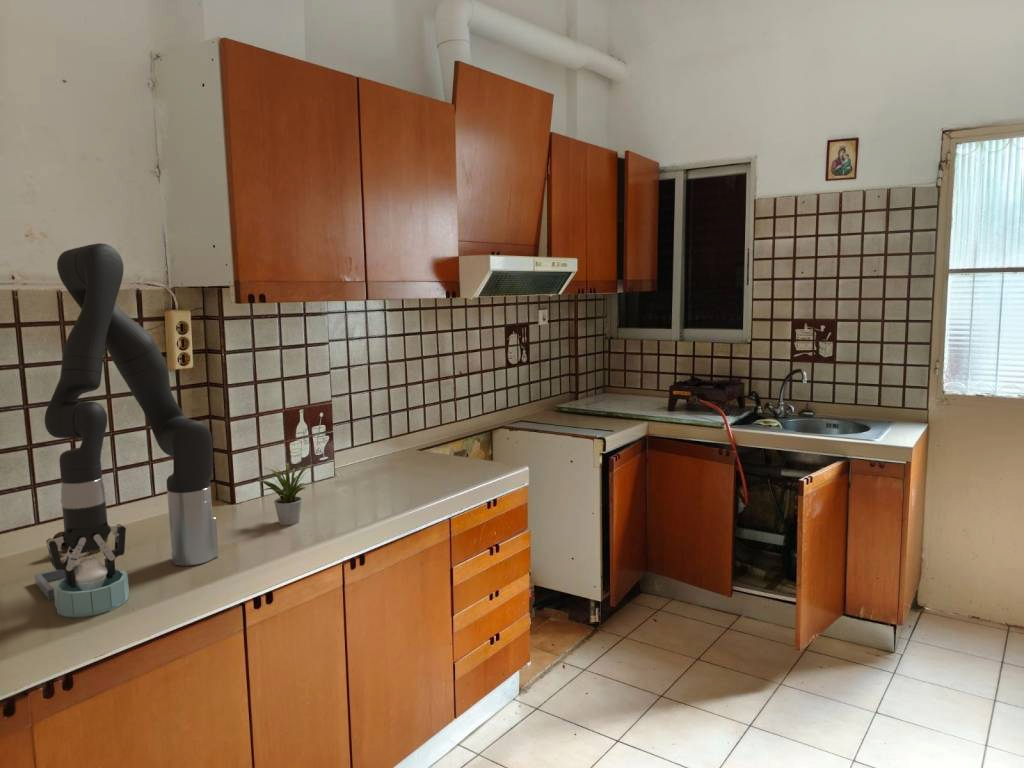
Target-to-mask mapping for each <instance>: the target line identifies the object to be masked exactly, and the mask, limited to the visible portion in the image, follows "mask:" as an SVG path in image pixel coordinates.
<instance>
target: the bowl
mask: <svg viewBox="0 0 1024 768" xmlns="http://www.w3.org/2000/svg"><path fill="white" fill-rule="evenodd" d="M75 585H76V587H75V588H71V587H70V586H68V585H67V584H66V583H65V578H62V579H58V581H56V583H55V584H54V585H53V587H52V588H54V598H55V599H54V605H55V608H56V613H57V614H58V615H59V616H60V617H63V618H64V617H66V618H73V619H74V618H77V619H78V618H87V617H94V616H98V615H102V614H105V613H108V611H109V612H111V611H114V610H116V609H117V608H120V607H122V606H123V605H124V604H126V602H127V601H128V600H129V594H130V589H129V588H130V587H129V576H128V573H127V571H125V570H124V569H123V568H116V567H115V575H113V578H110V579H108V578H107V577H106V578H105V581H104V583H103V585H102V587H101V588H97V589H93V590H87V591H82V590H81V589H80V588H79V587H78V585H77V584H76V583H75ZM121 605H122V606H121ZM115 608H116V609H115ZM113 609H114V610H113Z"/></svg>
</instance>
